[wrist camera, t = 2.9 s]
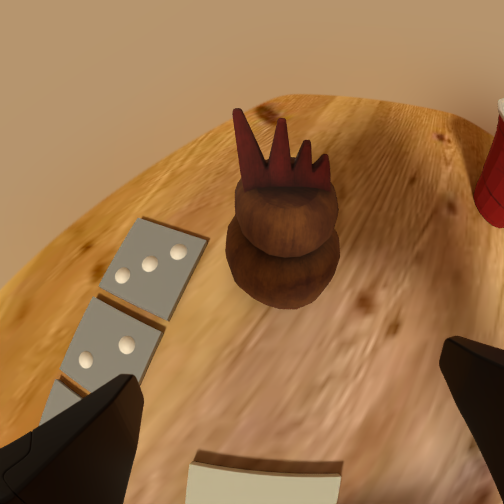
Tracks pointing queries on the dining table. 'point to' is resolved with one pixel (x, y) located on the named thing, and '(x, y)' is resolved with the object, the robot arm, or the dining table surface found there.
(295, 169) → the wooden figurine
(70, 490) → the robot arm
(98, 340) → the pad
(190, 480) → the folded napkin
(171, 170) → the dining table surface
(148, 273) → the pad
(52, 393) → the pad
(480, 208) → the plastic cup
